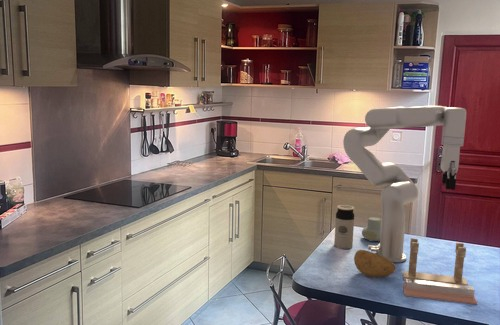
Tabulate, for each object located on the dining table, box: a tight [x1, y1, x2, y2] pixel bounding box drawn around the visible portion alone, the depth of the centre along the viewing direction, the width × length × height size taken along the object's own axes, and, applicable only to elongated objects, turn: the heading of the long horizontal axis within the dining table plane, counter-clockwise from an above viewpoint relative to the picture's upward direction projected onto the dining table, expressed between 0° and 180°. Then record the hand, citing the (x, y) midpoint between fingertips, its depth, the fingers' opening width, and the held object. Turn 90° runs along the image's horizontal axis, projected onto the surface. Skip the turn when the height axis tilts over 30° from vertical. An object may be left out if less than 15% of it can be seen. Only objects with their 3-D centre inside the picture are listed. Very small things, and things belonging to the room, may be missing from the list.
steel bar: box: [405, 279, 475, 298], centre depth 166 cm, size 22×3×3 cm, turn 75°
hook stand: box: [402, 237, 469, 286], centre depth 177 cm, size 22×6×14 cm, turn 76°
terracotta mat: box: [402, 282, 478, 305], centre depth 166 cm, size 23×10×1 cm, turn 76°
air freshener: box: [361, 216, 381, 242], centre depth 223 cm, size 11×8×10 cm
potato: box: [353, 249, 397, 278], centre depth 180 cm, size 9×16×9 cm, turn 53°
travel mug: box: [333, 204, 355, 250], centre depth 212 cm, size 8×8×18 cm
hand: (448, 186), depth 179 cm, fingers open, 9 cm apart
